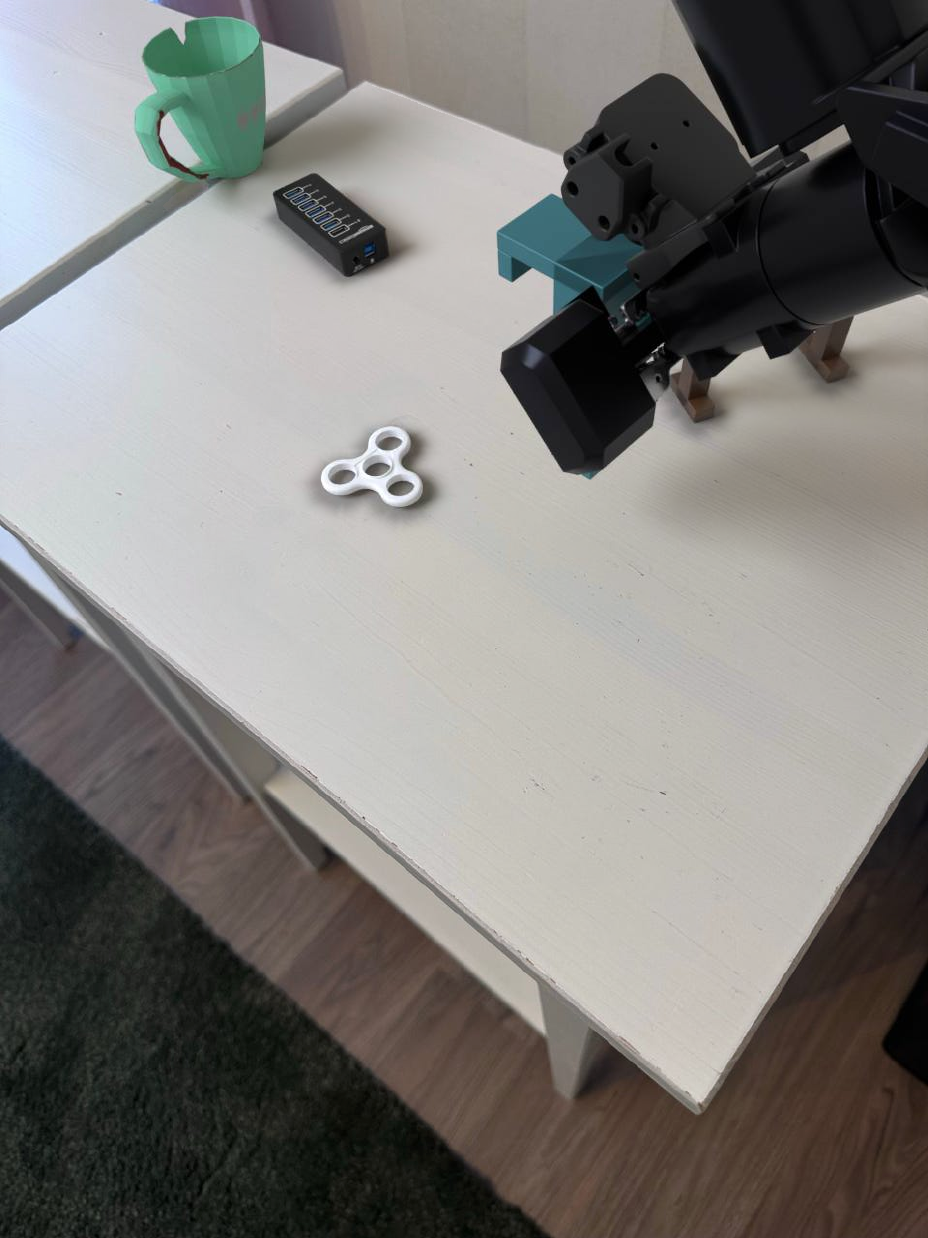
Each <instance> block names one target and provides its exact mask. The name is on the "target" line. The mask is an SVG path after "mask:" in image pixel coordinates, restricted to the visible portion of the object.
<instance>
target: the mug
mask: <svg viewBox="0 0 928 1238" xmlns="http://www.w3.org/2000/svg"><path fill="white" fill-rule="evenodd" d="M184 37H185V38H184V41H183V43H182V41H181V39H180V38H179V36H178V34H177V33H176V32H175V30H173V28H172V27H171V26H170V27H167V28H165V29H163V30H162V31H160V32H158V33H157V34H156V35H155V36H153V37H151V39H150V40H149V41H148V42H147V44H145V46H144V47H143V50H142V54H141V61H142V64H143V67H144V69H145V71H146V73H147V75H148V78H149V80H150V82H151V84H152V85H153V87H154V88H155V91H156V92H154V93H153V94H150V95H148V96H147V97H146V98H144V99H143V100H142V102H140V103H139V104H138V105H137V106H136V107H135V109H134V125H133V126H134V129H133V130H134V132H135V135H136V137H137V139H138V140H139V143H140V145H141V147H142V149H143V152H144V154H145V156H146V158H147V160H148V162H149V163H150V164H151V165H152V166H154V167H155V168H156V169H158V170H160V171H163V172H165V173H167V174H169V175H171V176H174V177H177V178H178V179H180V180H183V181H185V182H187V183H191V184H195V183H196V184H197V183H200V182H204V181H208V180H212V179H216V178H220V179H227V180H230V179H231V180H233V179H240V178H243V177H246V176H249V175H250V174H252V173H254V172H255V171H257V169H259V168H260V166H261V164H262V163H263V162H262V161H263V152H264V144H265V136H266V135H265V133H266V114H267V94H266V93H267V91H266V74H265V73H266V71H265V55H264V53H265V52H264V45H263V40H262V35H261V34H260V32H259V30H258V29H257V26H254V25H253V24H252V23H250V22H248V21H246V20H244V19H240V18H236V17H232V16H216V15H215V16H207V17H198V18H194V19H190V20H186V21H185V23H184ZM168 114H170V116H171V118H172V120H173V122H174V123H175V125H176V127H177V128H178V130H179V132H180V133H181V134H182V137H184V139H185V140H186V142H187V143H188V144H189V146H190V147H191V149H192V150H193V152H194V153H195V154H196V155H197V157H198V158H199V159H200V160H201V162H202V163H203V164H199V165H198V164H197V165H194V166H193V165H192V166H189V167H188V166H186V165H184V164H183V163H181V162H180V161H179V160H177V159H176V158H175V157H174V156H172V155H171V154H170V153H169V152H168V150H167V148H166V146H165V144H164V141H163V139H162V137H161V126H162V120H163V119H164V118H165V117H166V116H167V115H168Z"/></svg>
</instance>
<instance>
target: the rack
mask: <svg viewBox="0 0 928 1238" xmlns="http://www.w3.org/2000/svg"><path fill="white" fill-rule="evenodd" d="M854 318H855V316H852V317H848V318H845V319H842V320H839V321H836V322H834V323H831V324H828V325H825V326H822V327H819V328H818V329H816V330H815V331H814V332H813V333H812V334H811V335H810V336H809V337H808V338H806V339H805V340H804V341H803V342H802V343H801V344H800V345H799V346H798V347H797V348H798V349H799V350H800V352H801V353H802V354H803V356H805V358H806V360H807V361H808V362H809V363H810V365H811V366H812V367H813V368H814V369H815V370H816V372H817V373H818V374H819V375H820V377H821V378H822V379H823V381H824V382H825V383H827V384H828V383H831V382H834V381H837V380H841V379H844V378H846V377H847V375H848V372H849V370H850V366H849V364H848V363H847V362H846V361H845V359H844V358H843V357H842V356H841V354H842V351H843V348H844V345H845V343H846V340H847V338H848V335H849V331H850V328H851V327H852V323H853V321H854ZM670 378H671V383H670V387H669V388H670V389H671V390H672V392H673V394H674V395H675V396H676V399H678V401H679V403H680V404H681V406H682V407H683V408H684V411H686V413H687V415H688V417H690V419H691V421H692V422H693V423H694V424H695V423H698V422H701V421H705V420H708V419H711V418H714V417H715V412H716V409H717V406H716V405H715V403H714V402H713V400H712V399H711V397H710V396H709V390H710V384H711V380H712V378H710V379H707V380H703V381H700V382H699V380H698V378H697V376H696V375H695V373H694V371H693V369H692V367H691V366H690V364H689V362H688V360H687V358H686V356H685V357H684V358H683V359H682V362H681V370H680V371H677V372H674V373H670Z"/></svg>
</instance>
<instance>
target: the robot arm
mask: <svg viewBox="0 0 928 1238" xmlns="http://www.w3.org/2000/svg"><path fill="white" fill-rule="evenodd" d="M670 1H671V3H672V5H673V7H674V9H675V11H676V13H677V15H678V17H679V19H680V21H681V24H682V26H683V27H684V30H685V31H686V34H687V36H688V37H689V40H690V42H691V44H692V46H693V48H694V50H695V52H696V54H697V56H698V58H699V60H700V62H701V65H702V66H703V68H704V70H705V73H706V75H707V77H708V79H709V80H710V83H711V85H712V87H713V89H714V91H715V93H716V95H717V98H718V99H719V101H720V103H721V105H722V107H723V110H724V111H725V114H726V116H727V118H728V120H729V122H730V123H731V126H732V128H733V130H734V132H735V134H736V136H737V138H738V140H739V142H740V145H741V146H742V147H744V149H745V151H746V154H747V155H748V157H749V159H750V160H751V159H754V160H753V161H751V162H749V161H748V160H747V158H746V157H745V156H744V155H743V154H742V153H741V151H740V147H739V144H738V142H737V140H736V138H735V136H734V135H733V134H732V133H731V132H730V130H729V129H727V127H726V126H725V125H724V124H723V123H722V122H721V121H720V120H719V119H718V118H717V117H716V116H715V115H714V113H713V112H711V110H710V109H709V108H708V107H707V106H706V105H705V104H704V103H703V102H702V100H701V99H699V97H698V96H697V95H696V94H695V93H694V92H693V91H692V90H691V89H690V88H689V87H688V85H687V84H686V83H685V82H684V81H683V80H681V79H680V78H678V77H677V76H675V75H673V74H670V73H666V72H660V73H659V72H658V73H655V74H652V75H651V76H649V77H648V78H646V79H645V80H643V81H642V82H640V83H639V84H637V85H635V86H634V87H632V88H631V89H629V90H628V91H627V92H625V93H623V94H621V96H620V97H618V98H616V99H614V100H613V101H612V102H610V103H609V104H607V105H605V106H604V107H603V108H602V109H601V111H600V113H599V115H598V117H597V118H596V121H595V123H594V125H593V127H591V128H590V129H588V130H586V131H585V132H584V133H583V136H582V138H581V140H580V141H578V142H577V143H575V144H573V145H572V146H570V147H568V149H566V150H565V151H564V153H563V156H562V161H563V165H564V167H565V169H566V170H567V173H566V174H565V177H564V179H563V180H562V183H561V185H560V195H561V198H562V199H563V203H564V204H565V206H566V207H567V208H568V209H569V210H570V211H571V212H572V213H573V214H574V215H575V217H576V218H577V219H578V220H579V221H580V222H581V223H582V224H583V225H584V226H585V227H586V228H587V230H588V231H589V232H590V233H591V234H592V235H593V236H594V237H595V238H596V239H598V240H600V241H610V240H611V239H613V238H614V237H615V236H617V235H618V234H623V235H624V236H625V237H626V238H627V239H628V240H629V241H631V242H632V243H634V244H636V245H639V246H642V247H643V248H644V250H643V251H641V252H640V253H638V254H636V255H635V256H634V257H633V258H631V259H630V260H629V261H627V262H626V263H625V266H626V268H627V270H628V271H629V273H630V275H631V277H632V279H633V281H634V282H635V284H636V286H637V288H638V289H640V290H639V291H638V292H637V293H635V294H634V295H633V296H632V297H630V298H629V299H628V300H626V301H625V302H624V303H623V304H621V306H620V307H619V311H620V314H621V316H622V318H623V319H624V321H625V322H623V323H621V324H620V325H619V326H617V325H618V320H617V318H616V317H615V316H611V315H610V314H609V312H608V310H607V308H606V307H605V305H604V303H603V301H602V300H601V298H600V296H599V294H598V293H597V291H596V289H595V287H594V286H593V285H591V286H590V287H589V288H587V289H586V290H585V291H583V292H582V293H581V294H579V295H578V296H577V297H575V298H574V299H573V300H572V301H570V302H569V303H568V304H566V305H565V306H564V307H562V308H561V309H560V310H559V311H557V312H556V313H554V314H553V313H552V314H551V315H549V316H548V317H547V318H545V319H543V320H542V321H541V322H539V323H538V324H537V325H536V326H534V327H533V328H532V329H531V330H529V331H528V332H526V333H525V334H523V336H521V337H520V338H519V339H517V340H516V341H514V342H513V343H512V344H510V345H509V346H508V347H506V349H503V351H502V352H501V357H500V367H499V372H500V374H501V375H502V377H503V379H504V380H505V382H506V383H507V385H508V386H509V388H510V389H511V391H512V393H513V394H514V396H515V398H516V399H517V402H519V404H520V405H521V408H522V409H523V411H524V412H525V414H526V415H527V417H528V418H529V420H530V422H531V423H532V425H533V426H534V429H535V430H536V431H537V433H538V434H539V436H540V437H541V439H542V441H543V442H544V445H546V447H547V449H548V450H549V453H550V455H551V454H552V455H551V456H552V457H553V459H554V460H555V462H556V463H557V465H558V467H559V468H560V470H561V472H562V473H567V474H571V475H575V476H580V475H582V474H586V473H591V472H595V471H600V470H601V471H603V470H605V469H606V468H607V467H608V466H609V465H610V464H611V463H612V462H614V461H615V460H616V459H617V458H618V457H619V456H621V454H623V453H624V452H625V451H626V450H627V449H629V448H630V447H631V446H632V445H633V444H634V443H635V442H637V441H638V439H640V438H641V437H642V436H643V435H645V434H646V433H647V432H648V431H649V430H650V429H651V428H653V427H654V423H655V416H656V409H657V402H658V401H659V399H660V398H662V397H663V396H664V395H665V394H666V393H667V392H668V391H669V389H670V388H671V387H670V383H671V378H670V375H671V370H672V368H673V367H675V366H676V365H677V364H678V363H679V362H681V360H682V361H683V358H684V357H685V356H686V358H687V360H688V362H689V364H690V366H691V367H692V369H693V371H694V373H695V375H696V376H697V378H698V380H699V382H700V381H703V380H707V379H710V378H711V379H714V378H716V377H717V376H718V375H720V373H722V371H724V370H725V369H726V368H727V367H728V366H730V365H731V364H732V363H733V362H734V361H735V360H737V359H738V357H740V356H741V355H742V354H743V353H747V352H749V351H753V350H755V349H758V348H762V347H763V350H764V352H765V354H766V355H767V357H768V359H769V361H770V360H774V359H777V358H780V357H784V356H787V355H790V354H791V353H792V352H793V351H794V350H795V349H797V348H798V346H799V345H800V344H801V343H802V342H803V341H804V340H805V339H806V338H808V337H809V336H810V335H811V334H812V333H814V332H815V330H816V329H818V328H819V327H822V326H825V325H828V324H831V323H834V322H836V321H839V320H842V319H845V318H848V317H852V316H854V317H855V316H857V315H860V314H861V315H862V314H864V313H866V312H870V311H873V310H875V309H879V308H882V307H884V306H887V305H891V304H893V303H897V302H900V301H902V300H903V301H904V300H906V299H908V298H911V297H915V296H918V295H921V294H923V293H928V0H670ZM842 126H843V127H844V128H845V130H846V132H847V135H848V137H849V139H848V140H846V141H845V142H843V143H840V144H839V145H837V146H835V147H833V148H831V149H830V150H828V151H826V152H825V153H823V154H821V155H819V156H817V157H814V158H813V159H810V157H809V155H808V153H807V152H804V151H802V150H804V149H805V148H806V147H809V146H810V145H812V144H813V143H815V142H817V141H819V140H820V139H822V138H824V137H825V136H827V135H828V134H830V133H832V132H833V131H835V130H837V129H839V128H840V127H842ZM769 150H770V151H769ZM765 152H766V153H765ZM764 153H765V154H764ZM762 154H763V155H762ZM760 155H761V156H760ZM758 156H759V157H758ZM756 157H757V158H756ZM755 158H756V159H755ZM647 313H649V314H650V317H648V318H647V319H646V320H645V321H643V322H642V323H641V324H640V325H638V326H636V322H638V321H640V320H642V318H643V317H645V316H647V315H648V314H647ZM651 358H652V359H653V360H651V361H649V360H650V359H651ZM601 471H600V472H601Z"/></svg>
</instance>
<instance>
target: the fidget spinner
mask: <svg viewBox="0 0 928 1238" xmlns="http://www.w3.org/2000/svg"><path fill="white" fill-rule="evenodd" d="M387 438H397V439H399V440H400V441H401V443H400V445H399V446H398V447H396V448H394V449H391V450H385V449H381V448H380V447H378V445H379V443H380V442H381V441H382V440H384V439H387ZM411 445H412V441H411V437H410V435H409V433H408V432H407V431H406V430H405V429H403V428H402V427H398V426H394V425H393V426H391V425H390V426H389V425H388V426H384V427H381V428H379V429H377V430H375V431H374V432H373V433H372V434H371V436H370V437H369V439H368V446H367V449H366V450H365V452H364V453H363V454H362V455H360V456H358V457H356V458H355V457H354V458H350V459H348V458H347V459H345V458H343V459H337V460H334V461H332V462H330V463H329V464H328V465H326V466H325V468H324V469H323V470H322V472H321V476H320V481H321V484H322V487H323V489H325V490H326V491H327V492H328V493H329V494H331V495H334V496H347V495H351V494H353V493H355V492H358V491H360V490H372V491H374V492H376V493H377V494H379V496H380V497H381V499H382V501H383V502H384V503H385V504H387V505H389V506H392V507H395V508H403V507H404V508H405V507H407V506H410V505H413V504H414V503H416V502H417V501H419V499H420V498H421V496H422V494H423V491H424V485H423V481H422V478H421V477H420V476H419V475H418V474H417V473H415V472H414V471H412V470H411V471H410V470H409V469H407V468H405V467H404V466H403V464H402V461H403V458H404V457H405V456H406V455H407V454H408V452H409V450H410V449H411ZM374 464H375V465H376V464H385V465H388V467H389V469H388V470H387V471H386V472H385V473H384V474H381V475H377V476H376V475H371V474H368V473H366V472H367V470H368V468H370V467H371V466H372V465H374ZM340 471H350V472H353V473H354V474H355V475H354V477H353V479H352V480H350V481H349V482H347V483H344V484H337V483H333V482H332V481H331V478H332V476H334V474H336V473H337V472H340ZM402 481H403V482H409V483H411V484H412V485H413V489H412V490H411V491H410V492H409V493H407V494H403V495H394V494H392V493H390V492H389V488H390V487H391V486H392V485H394V484H395V483H398V482H402Z"/></svg>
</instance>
